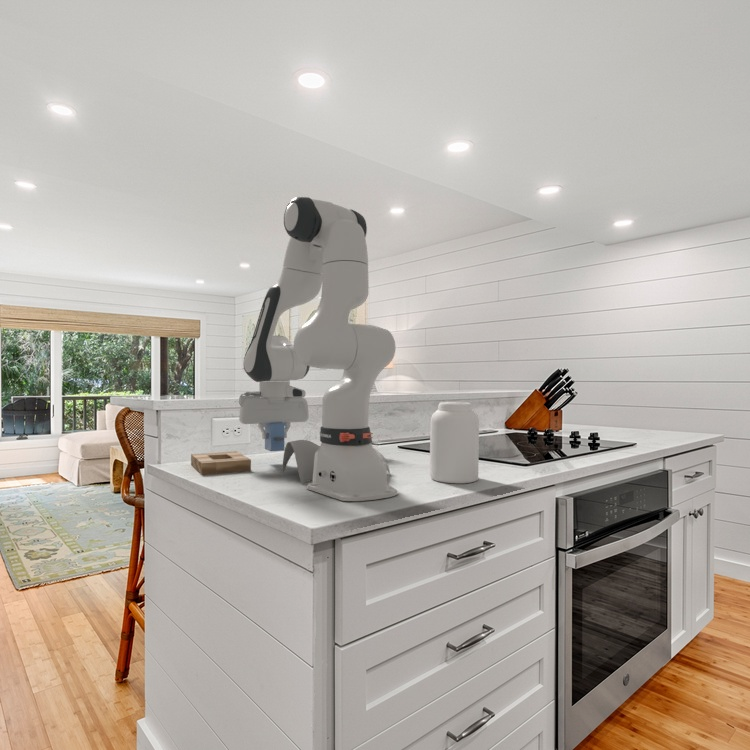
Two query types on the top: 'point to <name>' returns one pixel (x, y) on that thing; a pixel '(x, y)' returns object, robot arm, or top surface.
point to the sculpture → (307, 458)
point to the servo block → (274, 436)
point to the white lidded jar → (454, 443)
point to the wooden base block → (220, 462)
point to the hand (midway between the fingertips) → (274, 438)
